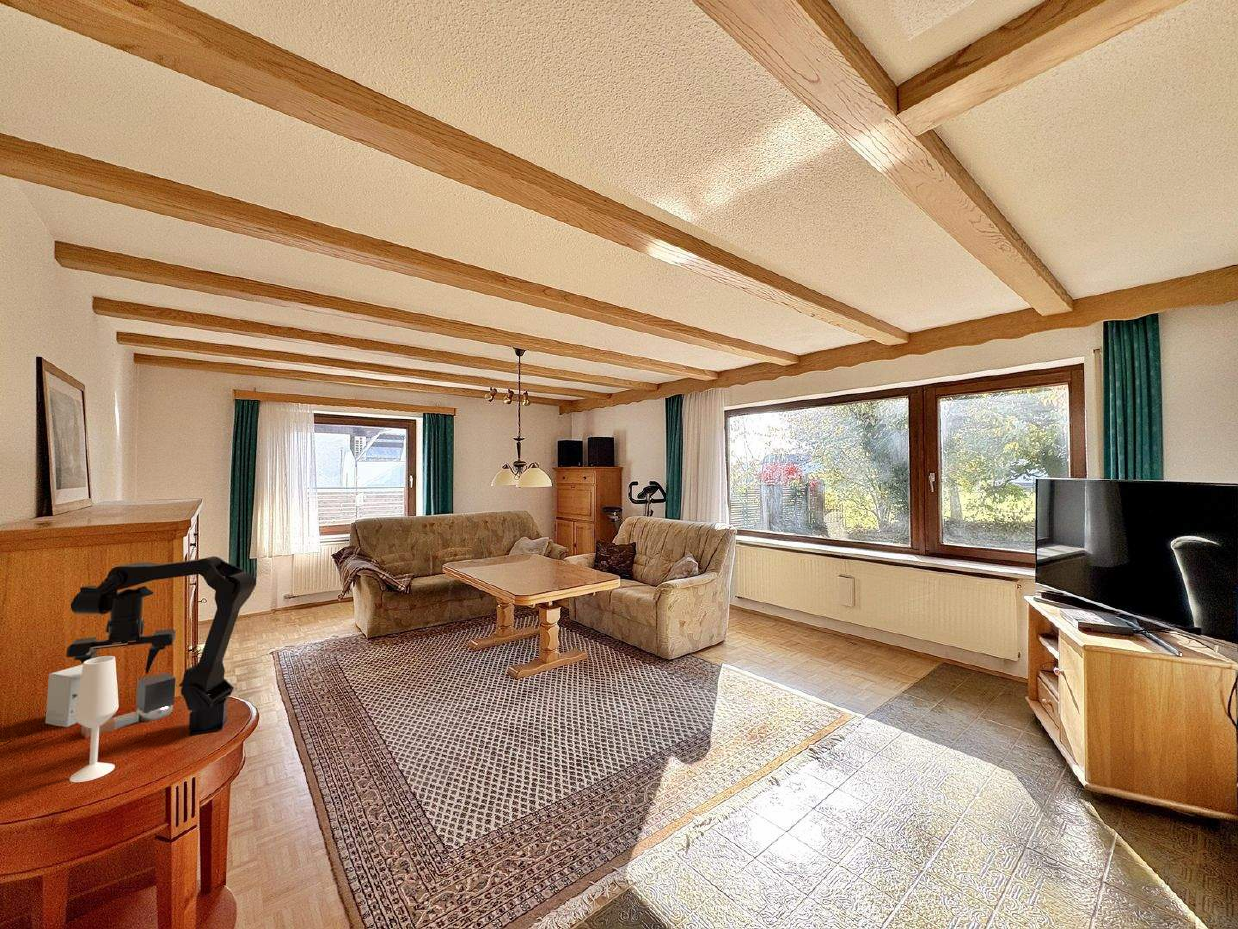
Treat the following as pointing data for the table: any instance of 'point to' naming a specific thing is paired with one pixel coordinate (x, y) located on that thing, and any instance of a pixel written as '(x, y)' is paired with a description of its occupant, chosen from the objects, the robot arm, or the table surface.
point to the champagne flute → (96, 709)
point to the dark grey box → (155, 692)
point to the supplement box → (63, 696)
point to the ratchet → (129, 720)
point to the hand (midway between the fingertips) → (121, 676)
